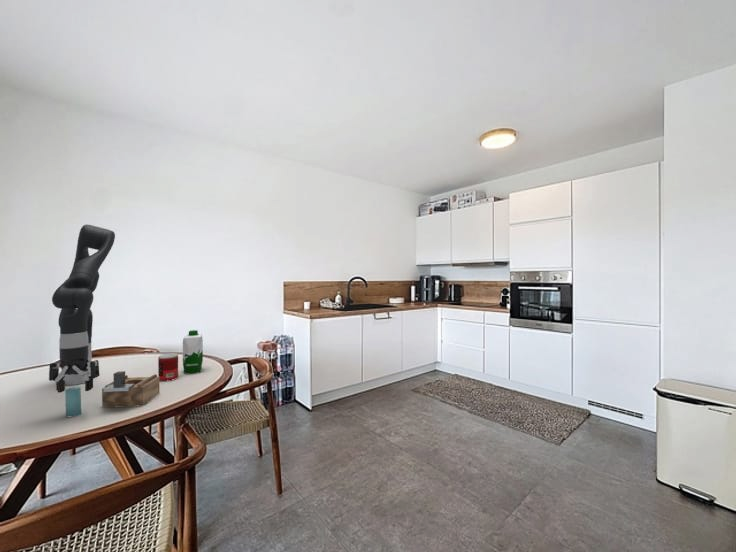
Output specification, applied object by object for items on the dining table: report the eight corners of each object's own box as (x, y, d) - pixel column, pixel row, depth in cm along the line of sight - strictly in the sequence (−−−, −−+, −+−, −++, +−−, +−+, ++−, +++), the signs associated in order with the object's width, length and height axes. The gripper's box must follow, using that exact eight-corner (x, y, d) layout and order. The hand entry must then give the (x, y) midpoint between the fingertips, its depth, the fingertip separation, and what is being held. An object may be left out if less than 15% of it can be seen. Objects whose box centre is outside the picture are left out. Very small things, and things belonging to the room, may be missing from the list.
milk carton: (203, 367, 167) (203, 329, 167) (202, 372, 159) (201, 332, 159) (184, 369, 164) (184, 330, 163) (181, 375, 155) (181, 334, 155)
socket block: (102, 407, 119) (102, 386, 118) (122, 395, 130) (122, 375, 130) (143, 405, 120) (143, 384, 120) (159, 393, 132) (159, 374, 132)
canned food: (181, 376, 154) (181, 353, 154) (170, 381, 146) (169, 357, 146) (167, 375, 155) (166, 352, 155) (154, 381, 147) (154, 357, 147)
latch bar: (103, 391, 115) (103, 374, 115) (111, 387, 119) (111, 371, 119) (128, 390, 116) (128, 373, 116) (134, 386, 120) (134, 370, 120)
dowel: (62, 417, 110) (62, 391, 110) (71, 412, 114) (70, 387, 114) (75, 416, 111) (75, 390, 111) (84, 411, 115) (83, 386, 115)
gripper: (103, 342, 117) (104, 386, 117) (59, 343, 115) (60, 388, 115) (89, 346, 110) (89, 394, 110) (41, 348, 108) (42, 396, 108)
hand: (74, 391), depth 113 cm, fingers open, 8 cm apart
